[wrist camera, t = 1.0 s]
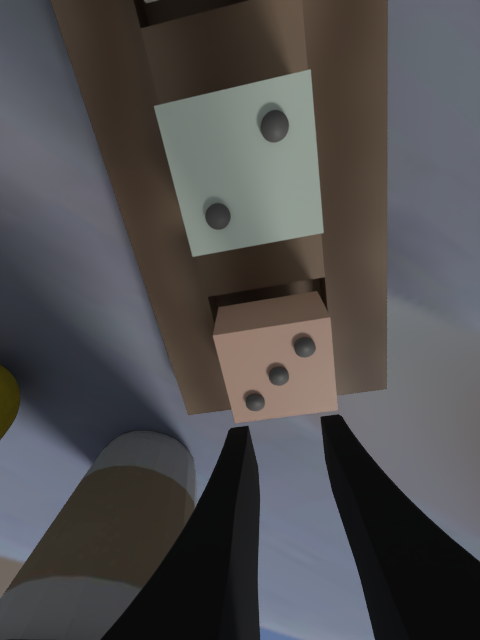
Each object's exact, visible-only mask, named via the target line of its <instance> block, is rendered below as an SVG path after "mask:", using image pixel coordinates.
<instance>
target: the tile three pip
mask: <svg viewBox="0 0 480 640" xmlns="http://www.w3.org/2000/svg"><path fill="white" fill-rule="evenodd" d="M213 339H214V342H215V346H216V350H217V354H218V358H219V362H220V366H221V370H222V374H223V377H224V381H225V385H226V389H227V393H228V397H229V401H230V405H231V409H232V413H233V416H234V420H235V423H241V422H248V421H256V420H264V419H272V418H280V417H288V416H296V415H303V414H311V413H319V412H327V411H334V410H338V406H337V393H336V380H335V368H334V355H333V343H332V330H331V318H330V315H329V313H328V311H327V309H326V307H325V305H324V303H323V301H322V299H321V297H320V296H319V294H318V292H317V291H314V292H308V293H302V294H296V295H290V296H284V297H278V298H272V299H265V300H259V301H253V302H247V303H241V304H235V305H229V306H223V307H218V312H217V317H216V322H215V327H214V332H213Z"/></svg>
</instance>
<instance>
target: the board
mask: <svg viewBox="0 0 480 640" xmlns="http://www.w3.org/2000/svg"><path fill="white" fill-rule="evenodd" d="M50 1H51V4H52V7H53V10H54V13H55V16H56V19H57V22H58V25H59V28H60V31H61V34H62V37H63V40H64V43H65V46H66V49H67V52H68V55H69V58H70V61H71V64H72V67H73V70H74V73H75V76H76V79H77V82H78V85H79V88H80V91H81V94H82V97H83V100H84V103H85V106H86V109H87V112H88V115H89V118H90V121H91V124H92V127H93V130H94V133H95V136H96V139H97V142H98V145H99V148H100V151H101V154H102V157H103V160H104V163H105V166H106V169H107V172H108V175H109V178H110V181H111V184H112V187H113V190H114V193H115V196H116V199H117V202H118V205H119V208H120V211H121V214H122V217H123V220H124V223H125V226H126V229H127V232H128V235H129V238H130V241H131V244H132V247H133V250H134V253H135V256H136V259H137V262H138V265H139V268H140V271H141V274H142V277H143V280H144V283H145V286H146V289H147V292H148V295H149V298H150V302H151V305H152V308H153V311H154V314H155V317H156V320H157V323H158V326H159V329H160V332H161V335H162V338H163V341H164V344H165V347H166V350H167V353H168V356H169V359H170V362H171V365H172V368H173V371H174V374H175V377H176V380H177V383H178V386H179V389H180V392H181V395H182V398H183V401H184V404H185V407H186V410H187V413H188V415H193V414H201V413H208V412H216V411H223V410H231V405H230V401H229V397H228V393H227V389H226V385H225V381H224V377H223V374H222V370H221V366H220V362H219V358H218V354H217V350H216V346H215V342H214V339H213V332H214V327H215V322H216V317H217V312H218V307H223V306H229V305H235V304H241V303H247V302H253V301H259V300H265V299H272V298H278V297H284V296H290V295H296V294H302V293H308V292H314V291H317V292H318V294H319V296H320V297H321V299H322V301H323V303H324V305H325V307H326V309H327V311H328V313H329V315H330V318H331V330H332V343H333V355H334V368H335V380H336V393H337V395H345V394H352V393H360V392H367V391H375V390H383V389H387V41H388V0H157V1H153V2H150V3H146V2H145V1H144V0H50ZM310 69H311V79H312V91H313V104H314V117H315V129H316V142H317V154H318V167H319V179H320V192H321V205H322V217H323V230H324V233H321V234H315V235H310V236H304V237H299V238H293V239H288V240H282V241H277V242H271V243H266V244H261V245H255V246H250V247H244V248H239V249H233V250H228V251H222V252H217V253H211V254H206V255H200V256H195V257H192V253H191V249H190V245H189V241H188V237H187V233H186V230H185V226H184V222H183V218H182V214H181V210H180V206H179V202H178V198H177V195H176V191H175V187H174V183H173V179H172V175H171V171H170V167H169V163H168V159H167V156H166V152H165V148H164V144H163V140H162V136H161V132H160V128H159V124H158V121H157V117H156V113H155V109H154V106H156V105H161V104H165V103H169V102H173V101H178V100H182V99H186V98H190V97H195V96H199V95H203V94H208V93H212V92H216V91H220V90H225V89H229V88H233V87H237V86H242V85H246V84H250V83H254V82H259V81H263V80H267V79H272V78H276V77H280V76H284V75H289V74H293V73H297V72H301V71H306V70H310Z"/></svg>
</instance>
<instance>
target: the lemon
mask: <svg viewBox="0 0 480 640" xmlns="http://www.w3.org/2000/svg"><path fill="white" fill-rule="evenodd" d="M19 405H20V391H19V386H18V384H17V382H16V380H15V378H14V377H13V375H12V374H11V373H10V372H9V371H8V370H7V369H6V368H4V367H3V366H1V365H0V440H1V438H2V437H3V436H4V435H5V433H6V432H7V430H8V429H9V428H10V426H11V425H12V423H13V422H14V420H15V418H16V416H17V413H18V409H19Z"/></svg>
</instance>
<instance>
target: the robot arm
mask: <svg viewBox="0 0 480 640" xmlns="http://www.w3.org/2000/svg"><path fill="white" fill-rule="evenodd" d="M321 426H322V435H323V444H324V453H325V461H326V465H327V470H328V475H329V479H330V483H331V488H332V492H333V495H334V498H335V501H336V504H337V507H338V510H339V513H340V516H341V519H342V522H343V525H344V529H345V532H346V535H347V538H348V541H349V544H350V547H351V550H352V553H353V556H354V559H355V562H356V566H357V569H358V572H359V576H360V579H361V583H362V587H363V592H364V596H365V600H366V604H367V608H368V612H369V616H370V620H371V625H372V629H373V633H374V637H375V640H480V561H478V560H477V559H476V558H475V557H474V556H472V555H471V554H470V553H469V552H468V551H466V550H465V549H464V548H463V547H461V546H460V545H459V544H458V543H457V542H455V541H454V540H453V539H452V538H451V537H449V536H448V535H447V534H446V533H445V532H444V531H443V530H442V529H440V528H439V527H438V526H437V525H436V524H435V523H434V522H433V521H432V520H431V519H429V518H428V517H427V516H426V515H425V514H424V513H423V512H422V511H421V510H420V509H419V508H418V507H417V506H416V505H415V504H414V503H413V502H412V501H411V500H410V499H409V498H408V497H407V496H406V495H405V494H404V493H403V492H402V491H401V490H400V489H399V488H398V487H397V486H396V485H395V484H394V483H393V481H392V480H391V479H390V478H389V477H388V476H387V475H386V474H385V473H384V471H383V470H382V469H381V468H380V467H379V466H378V465H377V463H376V462H375V461H374V460H373V458H372V457H371V456H370V455H369V454H368V453H367V451H366V450H365V449H364V447H363V446H362V445H361V443H360V442H359V441H358V439H357V438H356V437H355V435H354V434H353V433H352V431H351V430H350V428H349V427H348V425H347V424H346V422H345V421H344V419H343V417H342V416H340V415H339V414H338V415H331V416H323V417H321ZM259 516H260V489H259V474H258V465H257V461H256V456H255V452H254V448H253V444H252V439H251V435H250V431H249V427H248V426H243V427H235V428H231V429H230V430H229V431H228V434H227V438H226V440H225V443H224V446H223V449H222V451H221V454H220V456H219V459H218V461H217V464H216V466H215V468H214V470H213V473H212V475H211V477H210V479H209V482H208V484H207V486H206V488H205V490H204V492H203V494H202V496H201V497H200V499H199V501H198V503H197V505H196V507H195V509H194V511H193V513H192V514H191V516H190V518H189V520H188V521H187V523H186V525H185V527H184V528H183V530H182V531H181V533H180V535H179V536H178V538H177V540H176V541H175V543H174V544H173V546H172V547H171V549H170V550H169V552H168V553H167V555H166V556H165V558H164V559H163V561H162V562H161V564H160V565H159V566H158V568H157V569H156V571H155V572H154V573H153V575H152V576H151V578H150V579H149V580H148V581H147V583H146V584H145V585H144V587H143V588H142V589H141V591H140V592H139V593H138V594H137V596H136V597H135V598H134V600H133V601H132V602H131V604H130V605H129V606H128V607H127V609H126V610H125V611H124V612H123V614H122V615H121V616H120V617H119V618H118V619H117V621H116V622H115V623H114V624H113V625H112V626H111V628H110V629H109V630H108V631H107V632H106V633H105V634H104V636H103V637H102V638H101V639H100V640H260V627H259V606H258V546H259Z"/></svg>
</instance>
